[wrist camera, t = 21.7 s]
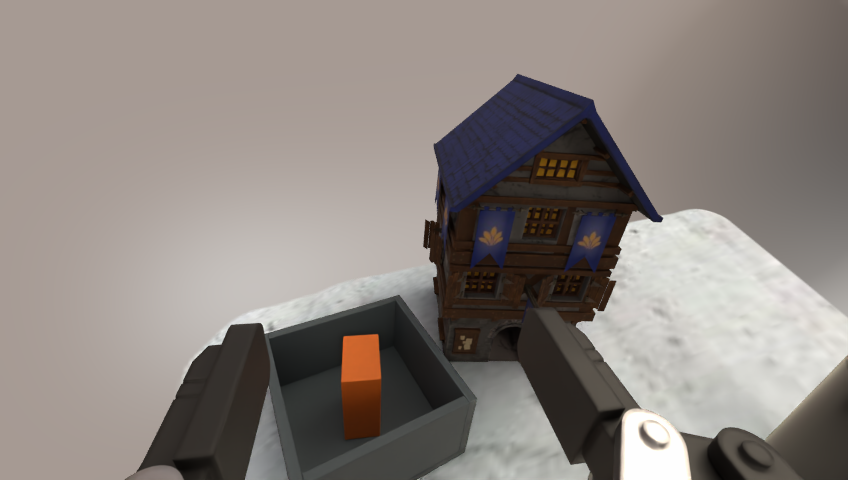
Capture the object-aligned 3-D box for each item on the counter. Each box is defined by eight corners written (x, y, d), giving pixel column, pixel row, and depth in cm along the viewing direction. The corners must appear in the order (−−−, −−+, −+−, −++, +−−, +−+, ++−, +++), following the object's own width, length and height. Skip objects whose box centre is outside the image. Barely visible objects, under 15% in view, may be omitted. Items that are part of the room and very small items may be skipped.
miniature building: (422, 393, 37) (456, 92, 22) (416, 276, 56) (433, 66, 41) (592, 395, 39) (732, 113, 24) (533, 280, 57) (591, 79, 42)
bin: (396, 344, 43) (399, 294, 39) (464, 452, 32) (477, 398, 29) (270, 389, 37) (258, 335, 33) (303, 544, 26) (291, 491, 22)
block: (377, 389, 37) (378, 333, 33) (380, 436, 32) (381, 378, 28) (346, 392, 36) (343, 335, 32) (344, 440, 32) (340, 382, 28)
